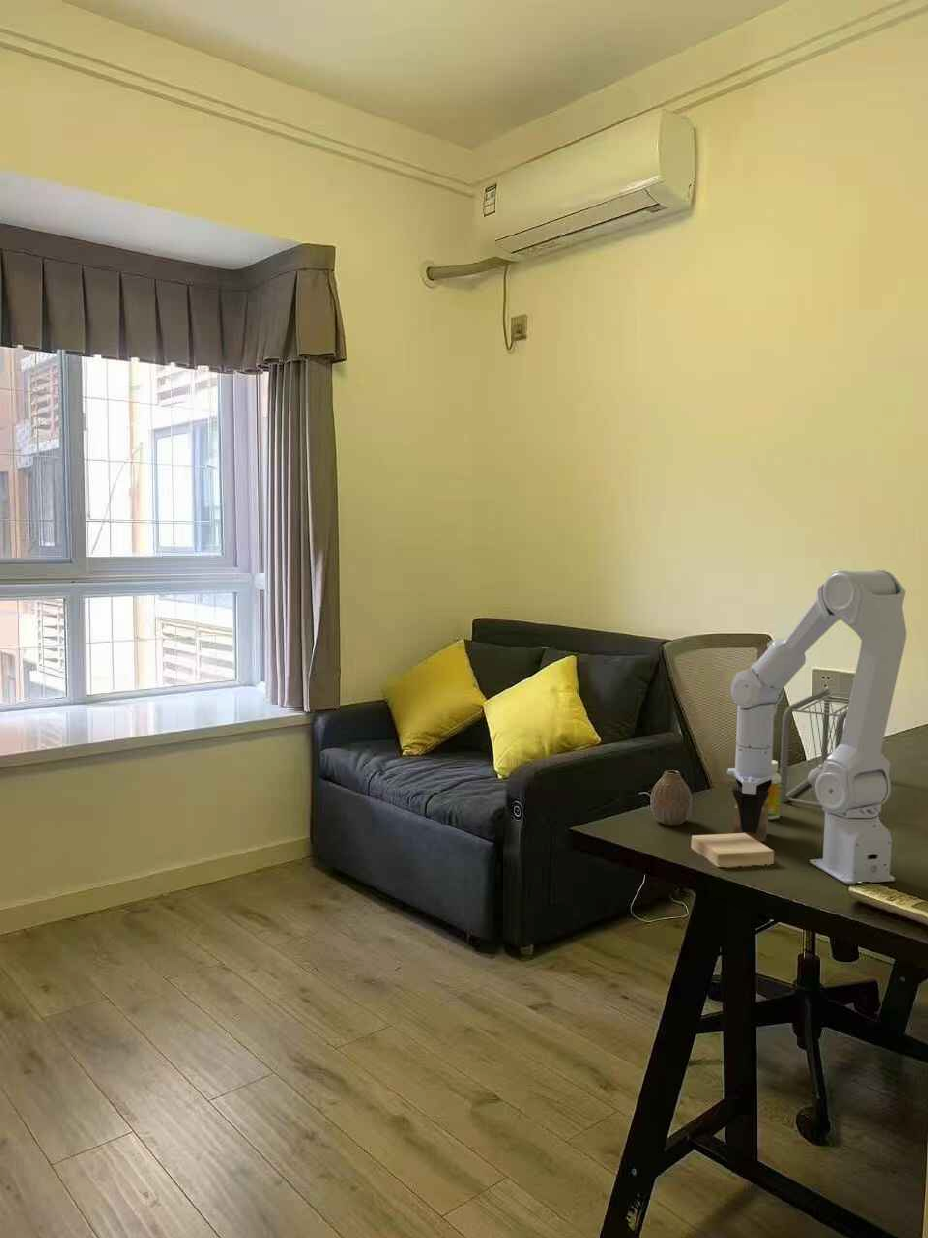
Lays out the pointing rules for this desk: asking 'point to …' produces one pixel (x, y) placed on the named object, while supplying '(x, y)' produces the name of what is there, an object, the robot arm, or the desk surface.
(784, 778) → the newton's cradle
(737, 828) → the walnut cube
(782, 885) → the desk surface
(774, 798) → the supplement bottle
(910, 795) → the desk surface
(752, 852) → the oak block
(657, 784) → the vase
